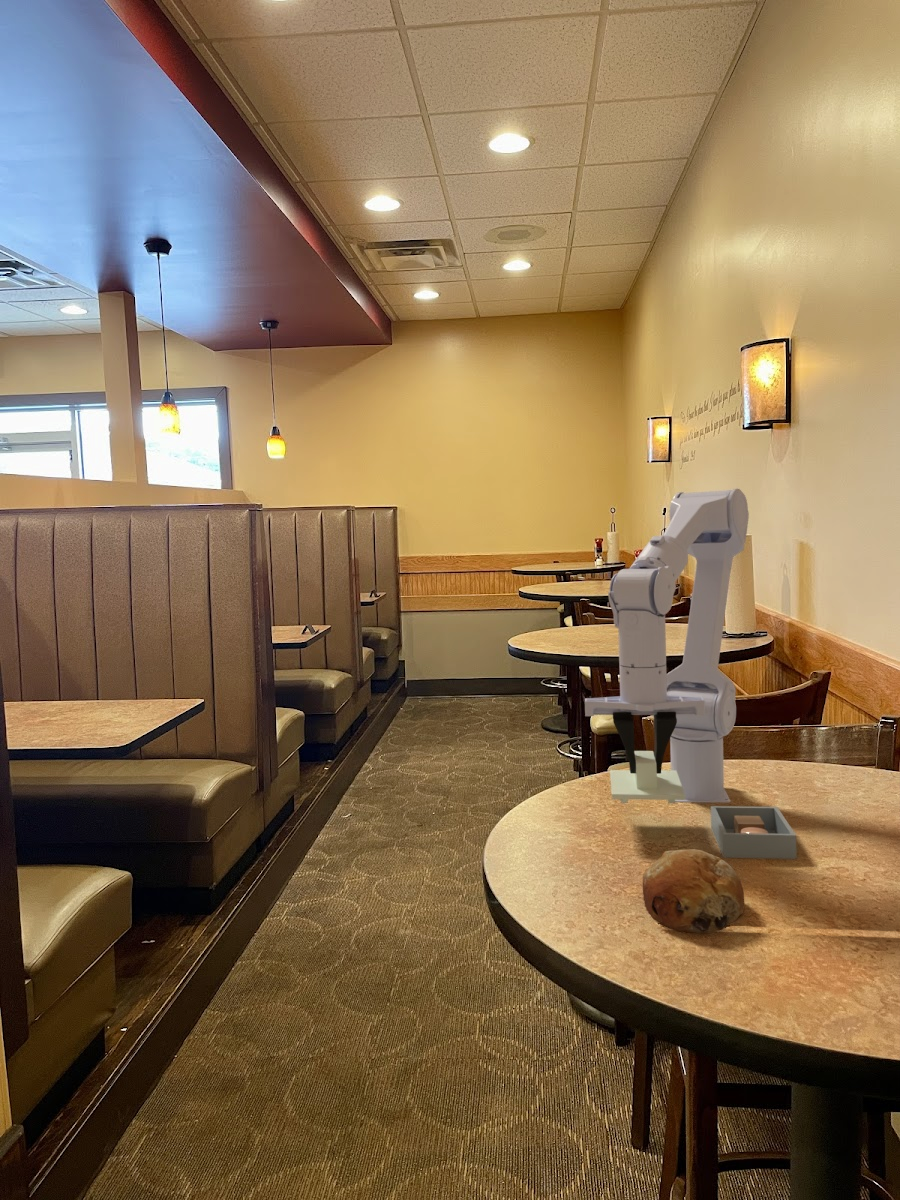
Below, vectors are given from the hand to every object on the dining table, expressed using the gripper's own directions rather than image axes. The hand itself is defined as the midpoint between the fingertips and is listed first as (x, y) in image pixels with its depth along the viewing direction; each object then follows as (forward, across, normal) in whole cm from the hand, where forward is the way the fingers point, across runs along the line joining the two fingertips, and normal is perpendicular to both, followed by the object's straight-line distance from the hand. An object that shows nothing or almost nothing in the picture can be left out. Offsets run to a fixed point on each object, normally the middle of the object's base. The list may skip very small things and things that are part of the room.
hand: (645, 771), depth 107 cm
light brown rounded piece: (+7, +12, -6) cm, 15 cm away
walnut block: (+7, +12, -2) cm, 14 cm away
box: (+8, +12, -4) cm, 15 cm away
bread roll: (+8, +3, -22) cm, 24 cm away
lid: (+2, 0, 0) cm, 2 cm away
